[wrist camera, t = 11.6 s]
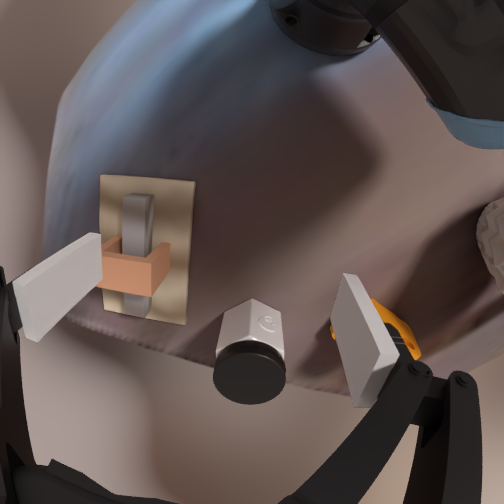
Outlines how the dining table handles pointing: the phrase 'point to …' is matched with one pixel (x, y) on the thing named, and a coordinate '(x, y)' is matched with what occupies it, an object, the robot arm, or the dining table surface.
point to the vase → (492, 239)
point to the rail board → (163, 232)
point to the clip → (133, 268)
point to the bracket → (399, 325)
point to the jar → (250, 354)
